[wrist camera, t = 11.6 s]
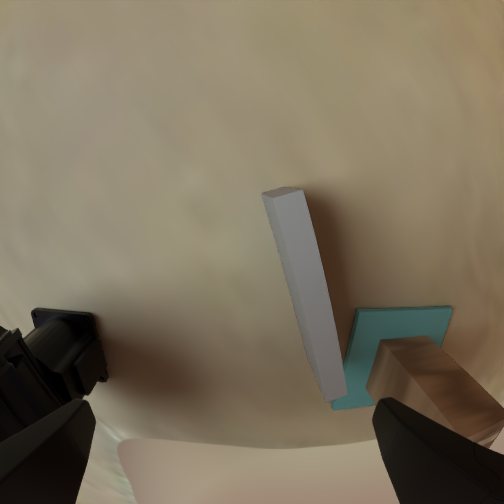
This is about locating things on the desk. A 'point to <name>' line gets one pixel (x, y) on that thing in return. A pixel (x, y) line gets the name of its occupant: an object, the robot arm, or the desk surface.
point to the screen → (307, 286)
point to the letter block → (434, 388)
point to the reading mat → (384, 327)
